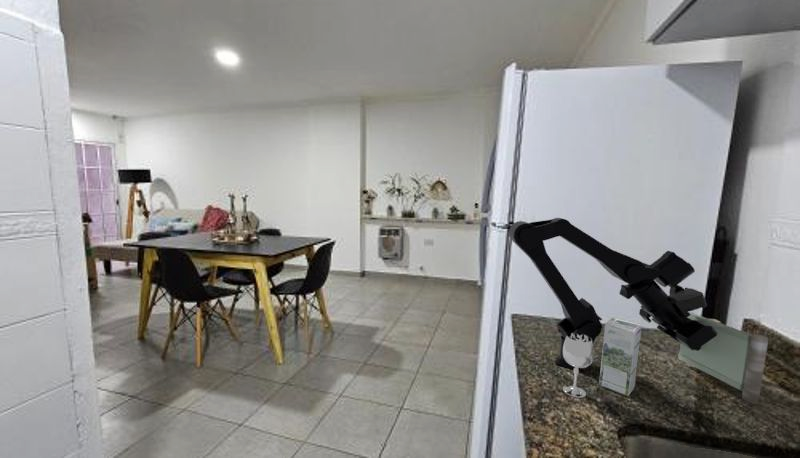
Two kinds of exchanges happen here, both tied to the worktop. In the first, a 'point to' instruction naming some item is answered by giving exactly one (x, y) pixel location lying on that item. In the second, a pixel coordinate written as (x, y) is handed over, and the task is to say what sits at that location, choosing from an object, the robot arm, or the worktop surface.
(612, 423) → the worktop surface
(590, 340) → the wineglass
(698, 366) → the pale green flat block
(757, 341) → the frame
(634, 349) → the syrup box
